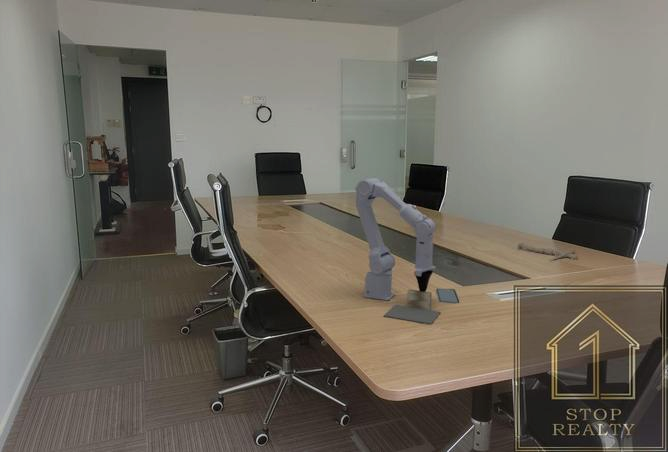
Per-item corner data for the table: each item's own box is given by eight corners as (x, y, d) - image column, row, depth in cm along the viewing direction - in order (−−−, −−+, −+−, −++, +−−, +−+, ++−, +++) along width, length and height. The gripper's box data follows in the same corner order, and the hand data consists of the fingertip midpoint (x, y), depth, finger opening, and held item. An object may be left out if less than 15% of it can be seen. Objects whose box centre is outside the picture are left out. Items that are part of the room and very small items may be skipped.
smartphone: (439, 301, 179) (435, 288, 193) (439, 304, 179) (435, 290, 193) (460, 302, 178) (455, 289, 192) (460, 305, 178) (455, 291, 192)
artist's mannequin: (505, 254, 256) (563, 268, 234) (506, 246, 255) (564, 259, 233) (532, 245, 274) (588, 257, 252) (533, 238, 273) (589, 249, 251)
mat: (383, 316, 164) (383, 315, 164) (395, 305, 175) (395, 304, 175) (431, 324, 158) (431, 323, 158) (440, 312, 168) (440, 311, 168)
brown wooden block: (407, 307, 174) (407, 290, 173) (408, 305, 175) (408, 289, 174) (429, 310, 171) (430, 293, 170) (430, 309, 172) (431, 292, 171)
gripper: (430, 259, 165) (428, 298, 168) (440, 250, 178) (439, 286, 181) (409, 256, 168) (408, 295, 171) (421, 248, 181) (420, 284, 184)
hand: (422, 290), depth 176 cm, fingers closed
